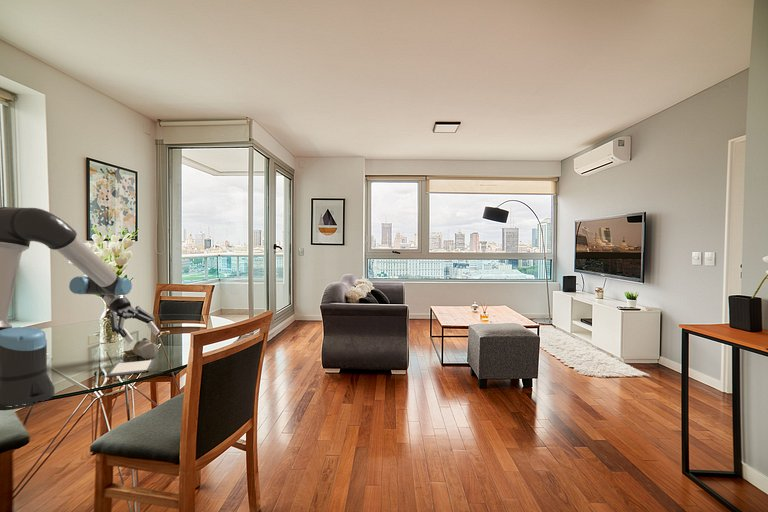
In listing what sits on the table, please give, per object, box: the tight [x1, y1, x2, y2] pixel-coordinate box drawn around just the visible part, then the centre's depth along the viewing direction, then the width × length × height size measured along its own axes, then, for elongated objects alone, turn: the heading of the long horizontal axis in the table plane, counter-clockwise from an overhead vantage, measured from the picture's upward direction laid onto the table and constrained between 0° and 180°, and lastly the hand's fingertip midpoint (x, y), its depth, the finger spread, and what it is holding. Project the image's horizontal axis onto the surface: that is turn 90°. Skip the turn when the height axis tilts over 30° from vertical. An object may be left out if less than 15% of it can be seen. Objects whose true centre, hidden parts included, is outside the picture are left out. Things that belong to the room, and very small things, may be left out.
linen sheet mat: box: [105, 359, 155, 378], centre depth 151 cm, size 14×14×1 cm
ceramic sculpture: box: [124, 337, 159, 360], centre depth 166 cm, size 11×9×15 cm
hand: (144, 337), depth 166 cm, fingers open, 13 cm apart
